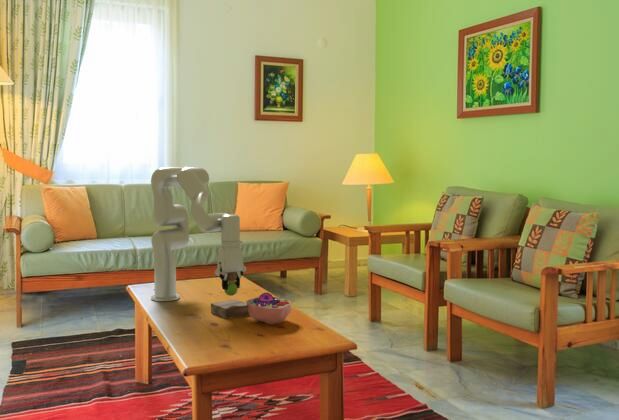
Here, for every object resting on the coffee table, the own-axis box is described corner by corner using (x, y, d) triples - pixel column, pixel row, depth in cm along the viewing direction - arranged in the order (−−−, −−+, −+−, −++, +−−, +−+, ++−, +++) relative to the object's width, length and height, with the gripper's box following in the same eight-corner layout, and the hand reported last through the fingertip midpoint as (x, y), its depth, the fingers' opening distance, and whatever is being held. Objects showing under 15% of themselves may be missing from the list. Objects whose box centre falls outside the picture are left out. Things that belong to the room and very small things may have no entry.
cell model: (256, 331, 234) (256, 301, 233) (241, 318, 253) (241, 290, 252) (298, 327, 240) (298, 298, 239) (281, 314, 259) (281, 287, 258)
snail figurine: (222, 294, 261) (222, 265, 260) (237, 294, 262) (237, 265, 261) (221, 297, 256) (221, 268, 255) (237, 296, 256) (237, 267, 255)
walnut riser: (210, 312, 261) (210, 303, 261) (235, 308, 268) (235, 299, 268) (226, 318, 252) (226, 308, 251) (251, 314, 259) (251, 304, 259)
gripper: (243, 242, 266) (243, 284, 267) (207, 245, 255) (208, 289, 257) (253, 243, 260) (253, 287, 261) (217, 247, 249) (217, 292, 251)
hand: (231, 288), depth 259 cm, fingers closed on snail figurine, 5 cm apart
